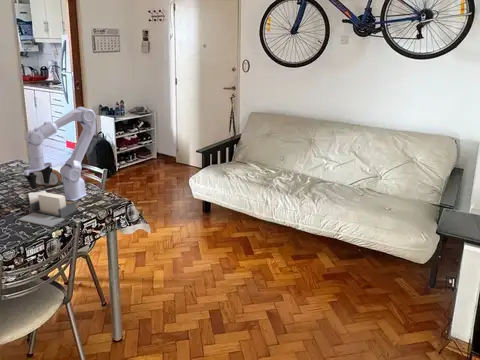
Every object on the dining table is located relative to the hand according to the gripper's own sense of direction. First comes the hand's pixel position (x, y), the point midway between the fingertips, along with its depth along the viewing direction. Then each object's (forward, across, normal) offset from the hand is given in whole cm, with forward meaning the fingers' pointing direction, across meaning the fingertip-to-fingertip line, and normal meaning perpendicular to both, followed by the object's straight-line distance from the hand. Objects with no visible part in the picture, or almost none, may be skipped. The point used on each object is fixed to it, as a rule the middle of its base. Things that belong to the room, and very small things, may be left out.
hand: (40, 186), depth 205 cm
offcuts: (+9, -3, +10) cm, 14 cm away
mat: (+10, +13, +12) cm, 20 cm away
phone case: (+10, -5, -8) cm, 14 cm away
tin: (+10, -23, -19) cm, 31 cm away
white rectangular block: (+10, +4, +10) cm, 14 cm away
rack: (+9, +4, +10) cm, 14 cm away
